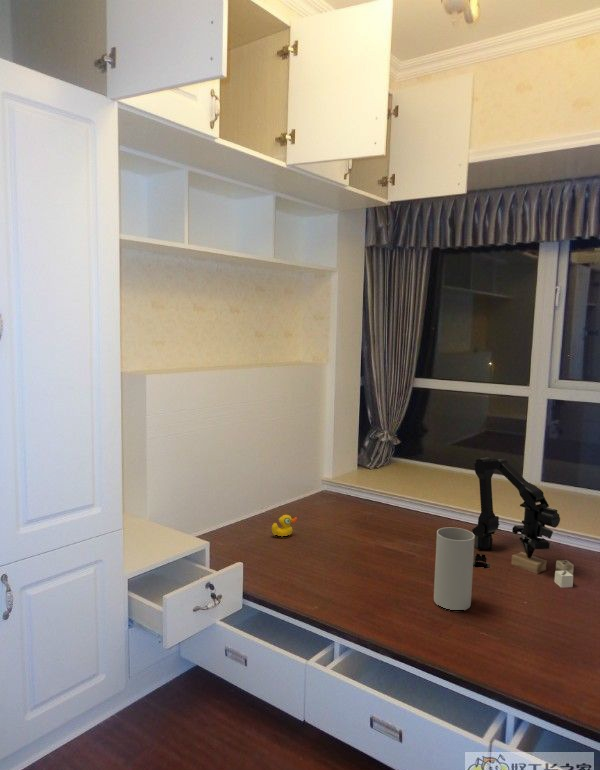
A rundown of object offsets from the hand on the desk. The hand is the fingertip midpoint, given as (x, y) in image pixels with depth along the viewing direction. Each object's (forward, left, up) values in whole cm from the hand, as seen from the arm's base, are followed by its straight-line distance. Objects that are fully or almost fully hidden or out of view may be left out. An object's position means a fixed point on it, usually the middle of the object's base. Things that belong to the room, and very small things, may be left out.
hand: (529, 557), depth 229 cm
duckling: (-95, +40, -4) cm, 103 cm away
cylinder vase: (-43, -26, -4) cm, 50 cm away
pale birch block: (+11, -7, -4) cm, 14 cm away
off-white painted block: (+5, -16, -4) cm, 17 cm away
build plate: (-19, +3, -5) cm, 20 cm away
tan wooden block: (0, 0, -4) cm, 4 cm away
